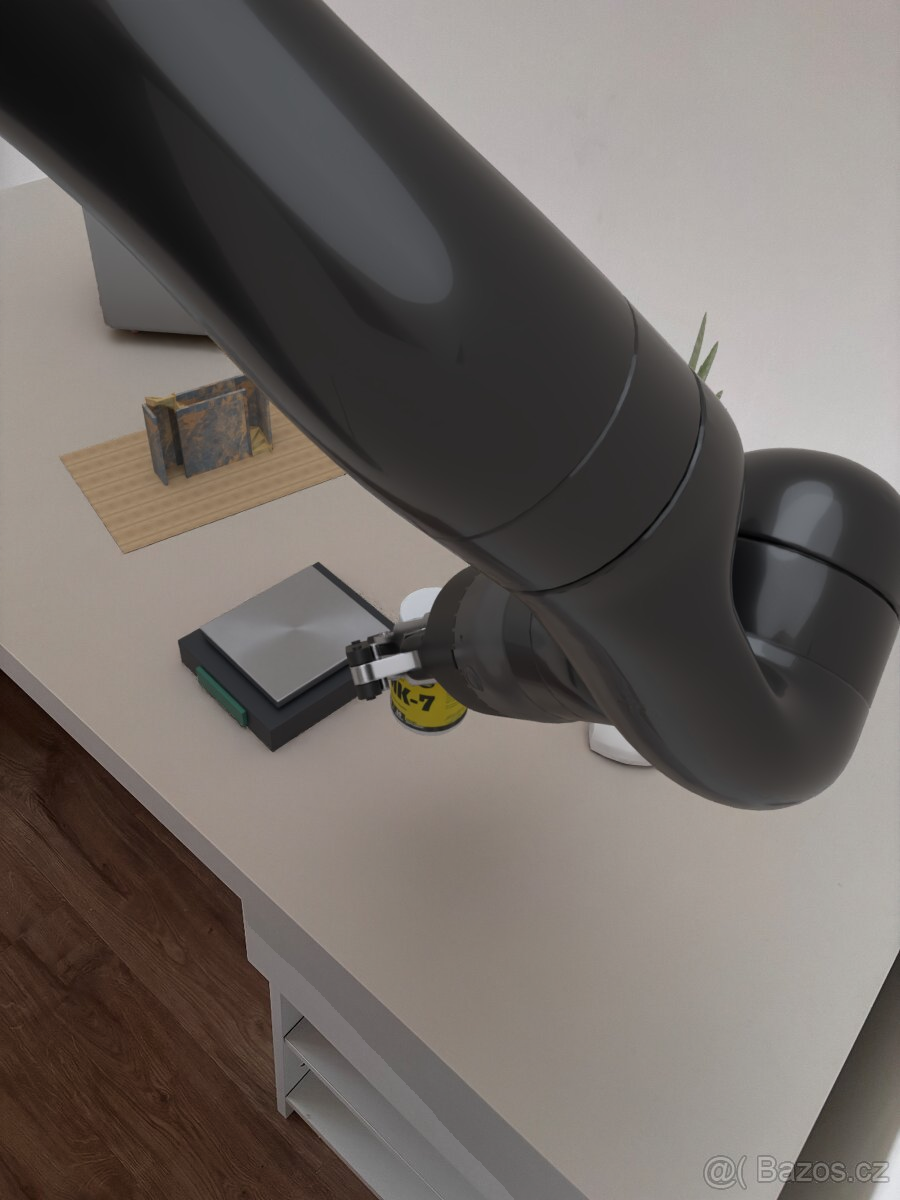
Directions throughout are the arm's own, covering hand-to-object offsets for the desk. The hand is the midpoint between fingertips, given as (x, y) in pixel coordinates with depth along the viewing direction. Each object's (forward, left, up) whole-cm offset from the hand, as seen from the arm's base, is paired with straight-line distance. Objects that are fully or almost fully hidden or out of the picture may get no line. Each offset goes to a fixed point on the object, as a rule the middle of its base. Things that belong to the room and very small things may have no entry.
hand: (418, 640), depth 63 cm
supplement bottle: (-1, -2, -4) cm, 5 cm away
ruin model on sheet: (+13, +43, -18) cm, 48 cm away
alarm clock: (+28, +69, -18) cm, 76 cm away
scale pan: (+3, +17, -15) cm, 23 cm away
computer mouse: (+20, -4, -18) cm, 27 cm away
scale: (+3, +17, -18) cm, 25 cm away
